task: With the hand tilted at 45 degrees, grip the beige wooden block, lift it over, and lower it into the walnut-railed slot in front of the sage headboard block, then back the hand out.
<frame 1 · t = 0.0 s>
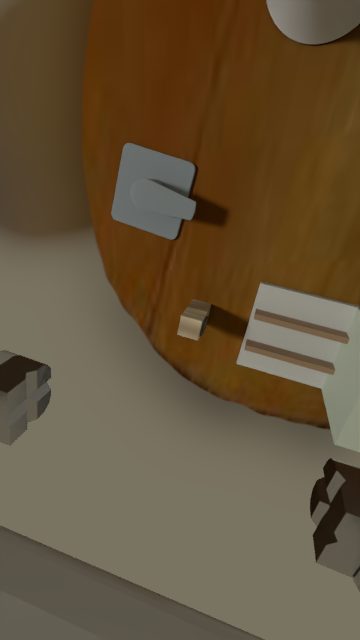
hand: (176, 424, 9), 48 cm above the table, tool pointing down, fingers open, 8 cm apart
shower valve: (160, 195, 55), on the table
beige wooden block: (200, 310, 60), on the table
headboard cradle: (304, 338, 57), on the table
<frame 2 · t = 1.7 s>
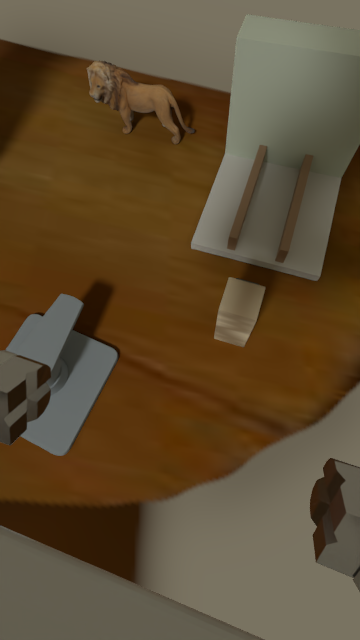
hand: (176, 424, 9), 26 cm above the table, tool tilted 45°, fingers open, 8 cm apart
shower valve: (56, 370, 38), on the table
beige wooden block: (232, 329, 38), on the table
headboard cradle: (270, 202, 44), on the table
lion figurine: (144, 132, 50), on the table
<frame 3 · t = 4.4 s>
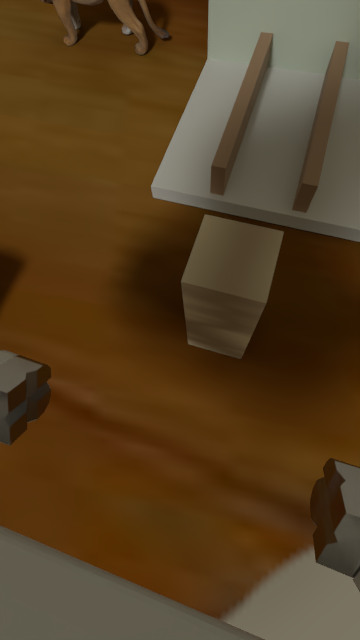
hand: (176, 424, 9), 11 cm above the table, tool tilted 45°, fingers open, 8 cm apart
beige wooden block: (221, 327, 21), on the table
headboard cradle: (279, 126, 28), on the table
lion figurine: (95, 43, 34), on the table
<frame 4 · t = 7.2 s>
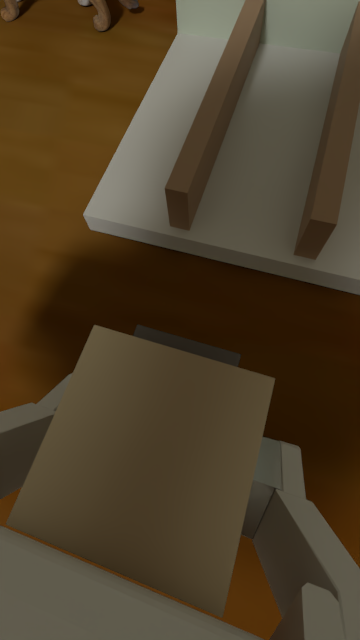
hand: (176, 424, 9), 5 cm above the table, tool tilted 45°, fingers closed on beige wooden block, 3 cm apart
beige wooden block: (179, 448, 13), on the table, touching gripper
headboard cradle: (276, 126, 20), on the table
lion figurine: (44, 18, 26), on the table
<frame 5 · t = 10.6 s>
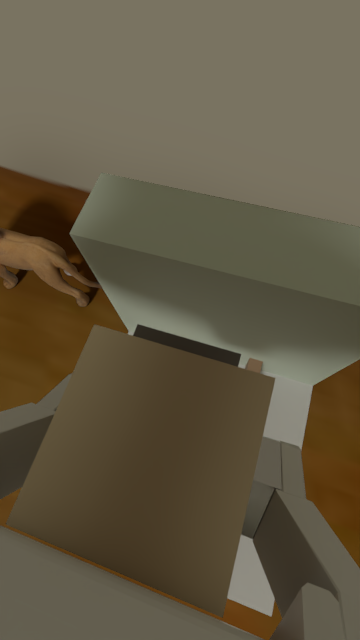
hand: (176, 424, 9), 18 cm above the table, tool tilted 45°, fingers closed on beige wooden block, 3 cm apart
beige wooden block: (179, 448, 13), point 14 cm above the table, touching gripper
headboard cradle: (197, 423, 27), on the table
lion figurine: (37, 282, 33), on the table
when the fingers open (7 cm above the table, at t = 13.9 s): beige wooden block drops 1 cm, resting on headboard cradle.
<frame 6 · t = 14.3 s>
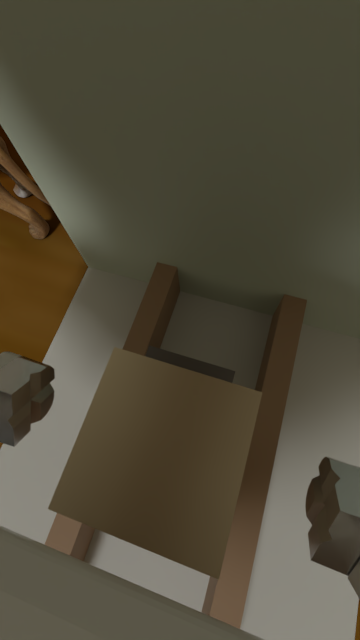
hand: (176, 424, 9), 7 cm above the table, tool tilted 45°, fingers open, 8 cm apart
beige wooden block: (181, 448, 15), point 1 cm above the table, touching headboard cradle
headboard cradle: (195, 408, 16), on the table
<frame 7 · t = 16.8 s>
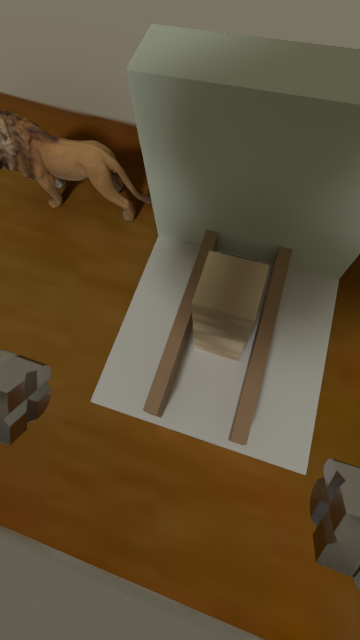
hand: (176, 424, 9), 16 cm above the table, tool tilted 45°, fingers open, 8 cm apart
beige wooden block: (221, 334, 26), point 1 cm above the table, touching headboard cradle
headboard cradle: (227, 317, 28), on the table
lion figurine: (81, 203, 33), on the table
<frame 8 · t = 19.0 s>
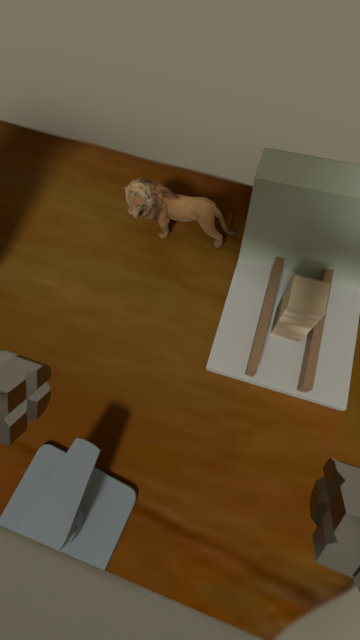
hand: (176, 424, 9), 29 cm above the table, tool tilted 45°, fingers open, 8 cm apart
shower valve: (70, 509, 35), on the table
beige wooden block: (287, 325, 40), point 1 cm above the table, touching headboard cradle
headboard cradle: (288, 314, 41), on the table
lion figurine: (181, 234, 47), on the table
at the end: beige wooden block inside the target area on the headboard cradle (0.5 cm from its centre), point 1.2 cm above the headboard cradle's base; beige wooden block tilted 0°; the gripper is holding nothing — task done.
